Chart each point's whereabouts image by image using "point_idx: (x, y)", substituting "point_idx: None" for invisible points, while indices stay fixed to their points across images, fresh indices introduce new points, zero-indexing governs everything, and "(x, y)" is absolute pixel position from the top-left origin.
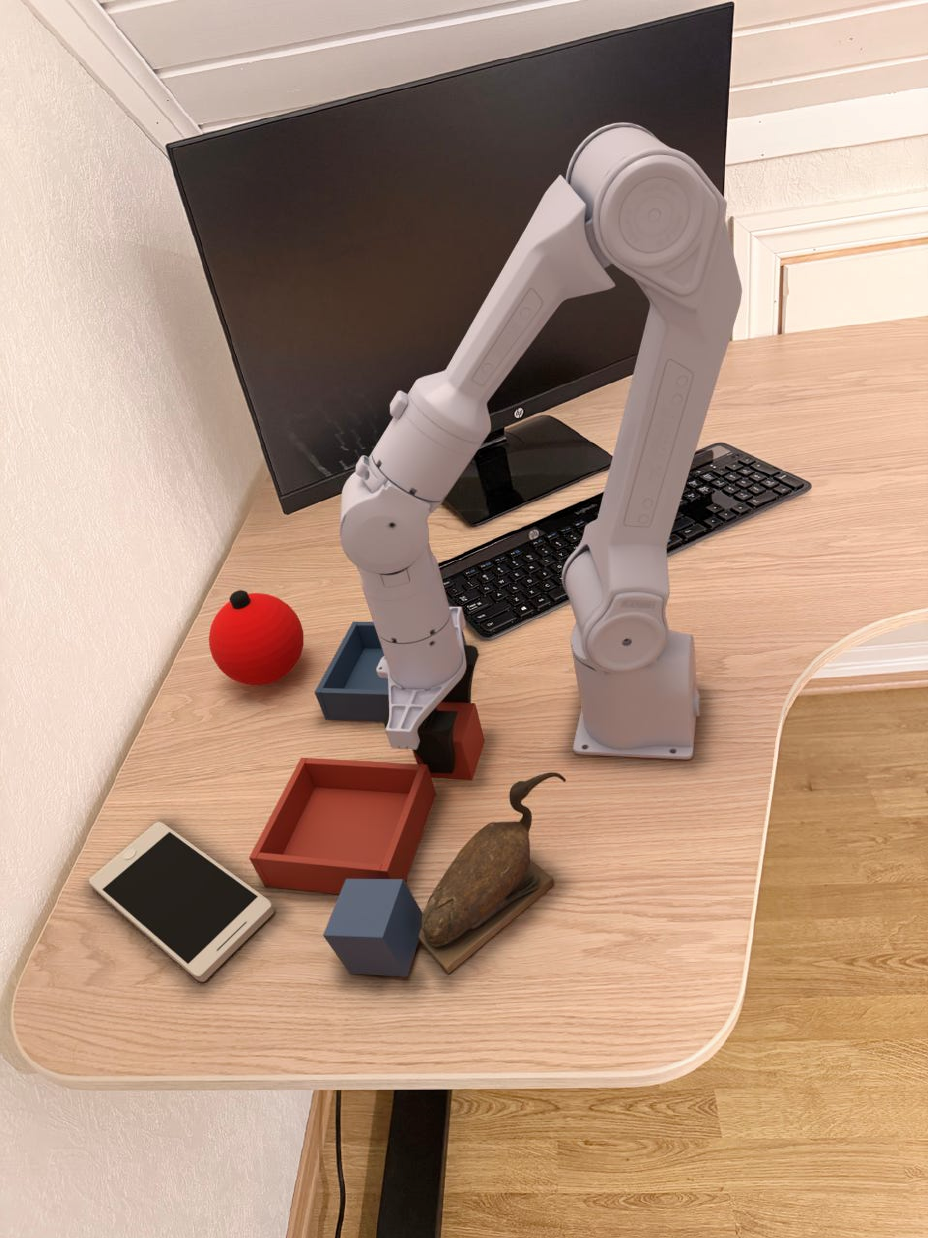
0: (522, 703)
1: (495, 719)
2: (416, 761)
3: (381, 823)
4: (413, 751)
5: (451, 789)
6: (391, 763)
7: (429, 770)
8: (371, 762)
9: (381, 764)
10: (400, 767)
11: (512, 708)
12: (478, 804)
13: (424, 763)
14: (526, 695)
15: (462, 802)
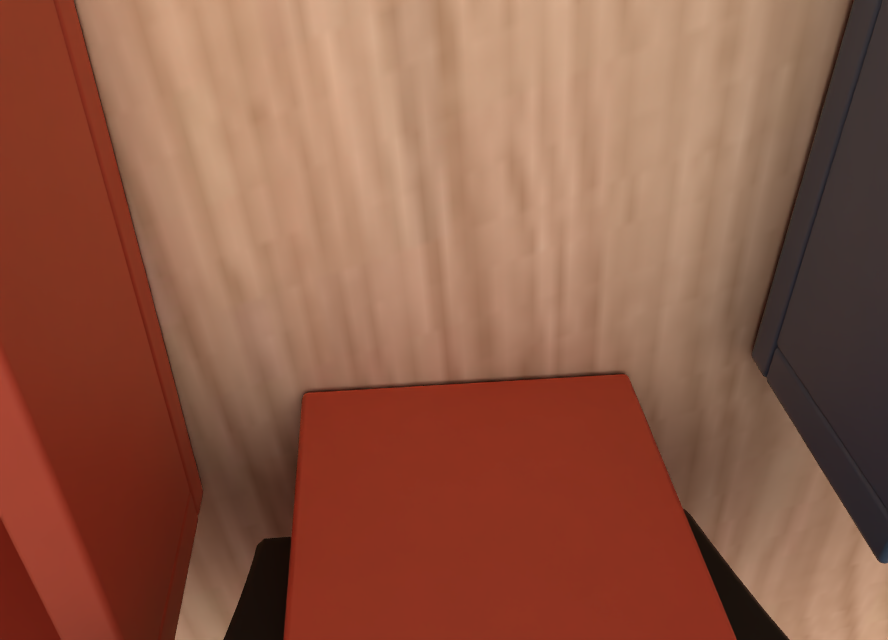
0: (824, 623)
1: (740, 567)
2: (294, 505)
3: None
4: (288, 593)
5: (257, 533)
6: (76, 559)
7: (256, 557)
8: (9, 423)
9: (26, 503)
10: (59, 624)
11: (800, 602)
12: (199, 636)
13: (235, 615)
14: (873, 623)
15: (190, 588)
